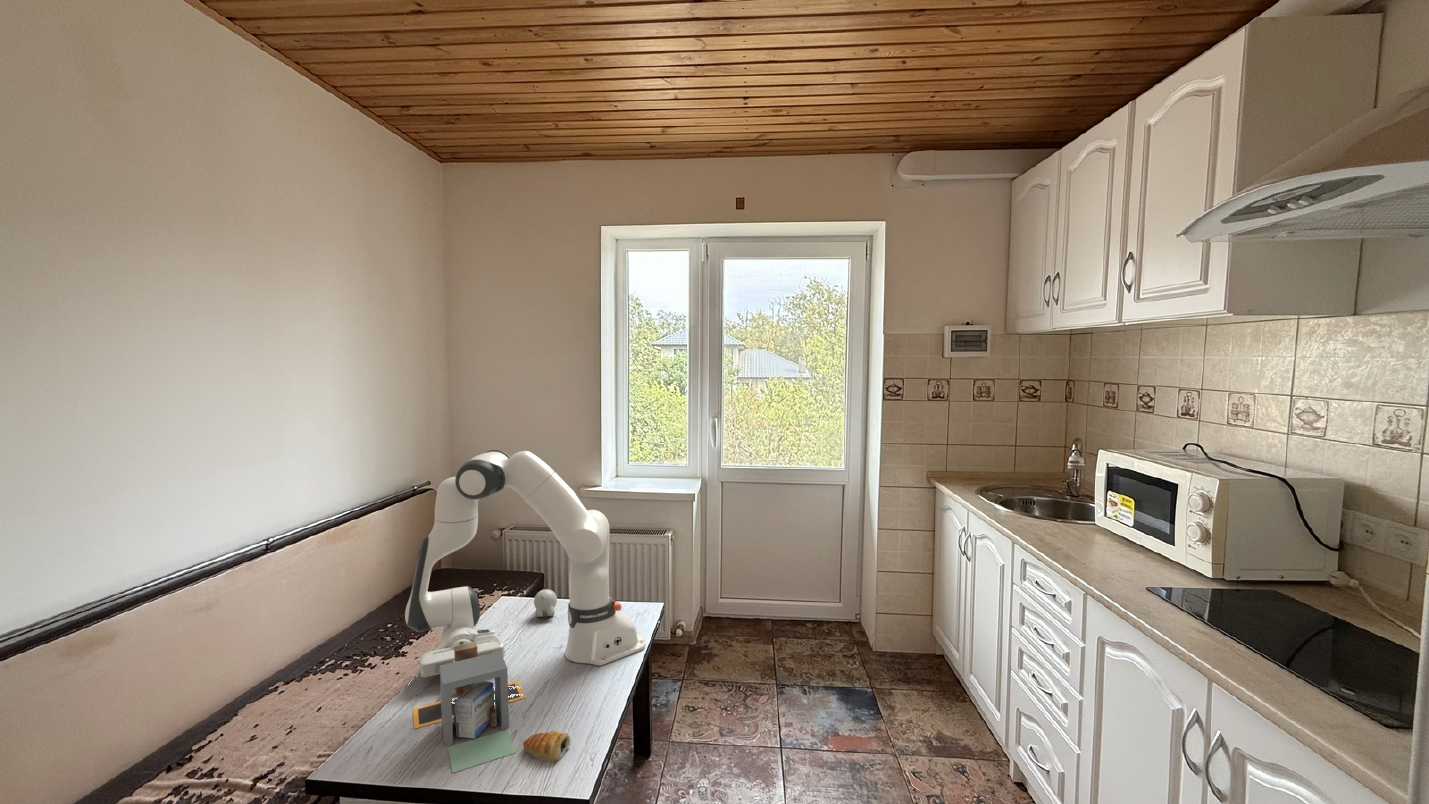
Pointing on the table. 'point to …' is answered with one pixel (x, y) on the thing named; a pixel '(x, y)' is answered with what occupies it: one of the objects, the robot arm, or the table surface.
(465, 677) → the tunnel
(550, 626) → the table surface
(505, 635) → the table surface
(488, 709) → the medicine box
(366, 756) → the table surface
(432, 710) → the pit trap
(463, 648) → the block
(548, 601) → the round bodied animal figurine
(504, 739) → the pad
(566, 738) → the pastry
